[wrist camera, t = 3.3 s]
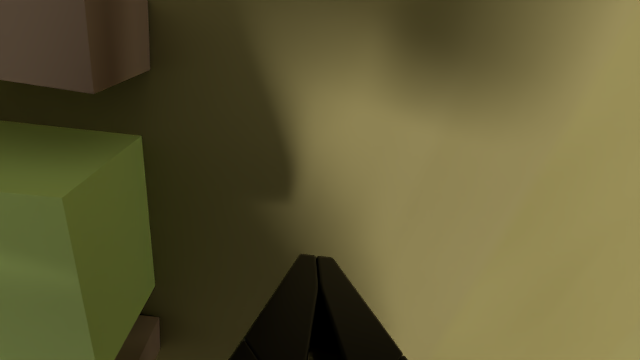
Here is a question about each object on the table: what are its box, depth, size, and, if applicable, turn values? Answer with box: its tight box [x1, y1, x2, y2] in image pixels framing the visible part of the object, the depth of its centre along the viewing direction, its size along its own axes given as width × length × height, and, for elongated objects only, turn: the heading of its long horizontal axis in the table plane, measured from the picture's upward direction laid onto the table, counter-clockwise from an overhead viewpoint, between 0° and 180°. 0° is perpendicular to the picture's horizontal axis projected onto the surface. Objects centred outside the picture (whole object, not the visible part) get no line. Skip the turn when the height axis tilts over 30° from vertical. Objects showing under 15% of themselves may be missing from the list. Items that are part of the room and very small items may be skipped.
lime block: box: [0, 121, 155, 360], centre depth 9 cm, size 5×5×4 cm
